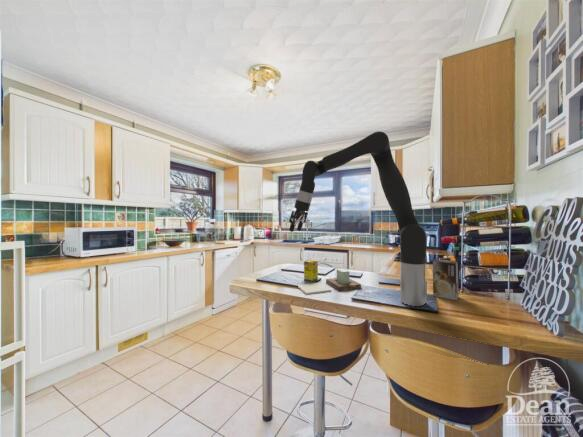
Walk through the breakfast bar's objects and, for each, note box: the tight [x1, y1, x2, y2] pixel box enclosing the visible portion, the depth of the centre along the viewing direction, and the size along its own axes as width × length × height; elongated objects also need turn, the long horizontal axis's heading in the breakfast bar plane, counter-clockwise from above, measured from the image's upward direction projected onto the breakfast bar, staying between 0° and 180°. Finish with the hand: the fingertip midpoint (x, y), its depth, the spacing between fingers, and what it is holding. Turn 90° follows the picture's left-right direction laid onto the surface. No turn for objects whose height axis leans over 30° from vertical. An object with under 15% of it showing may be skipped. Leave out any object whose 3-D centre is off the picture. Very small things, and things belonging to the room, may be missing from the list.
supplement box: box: [303, 259, 319, 282], centre depth 133 cm, size 6×6×11 cm
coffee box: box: [432, 259, 459, 301], centre depth 105 cm, size 9×6×16 cm
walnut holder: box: [325, 277, 362, 292], centre depth 123 cm, size 12×14×2 cm
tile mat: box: [296, 281, 332, 295], centre depth 118 cm, size 13×13×1 cm
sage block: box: [336, 268, 350, 284], centre depth 123 cm, size 4×6×8 cm, turn 18°
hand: (295, 230), depth 120 cm, fingers open, 8 cm apart
